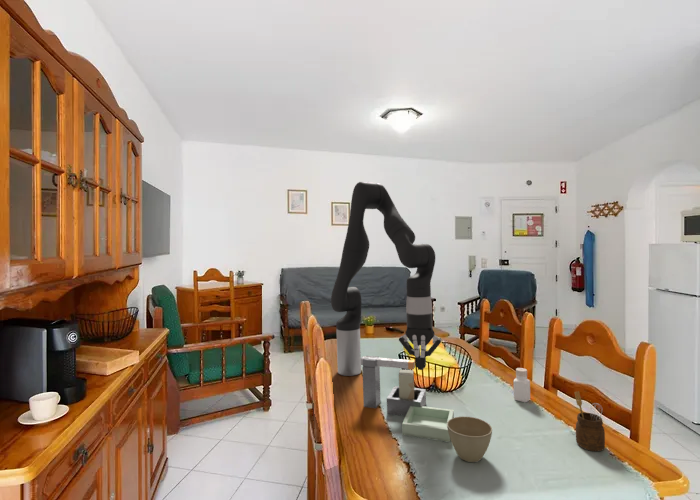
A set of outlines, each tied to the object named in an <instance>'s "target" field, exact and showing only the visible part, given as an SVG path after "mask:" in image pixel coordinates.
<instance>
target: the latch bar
mask: <svg viewBox="0 0 700 500" xmlns="http://www.w3.org/2000/svg"><path fill="white" fill-rule="evenodd" d="M377 357H378V356H377ZM377 357H366V356H364V355H363V356H361V366H363V359H370V360H376V366H380V367H382V368H393V369H394V368H395V369H403V370H415V368H416V359H404V358H403V359H402V358H400V359H399V358H389V357H379V358H377Z"/></svg>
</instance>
